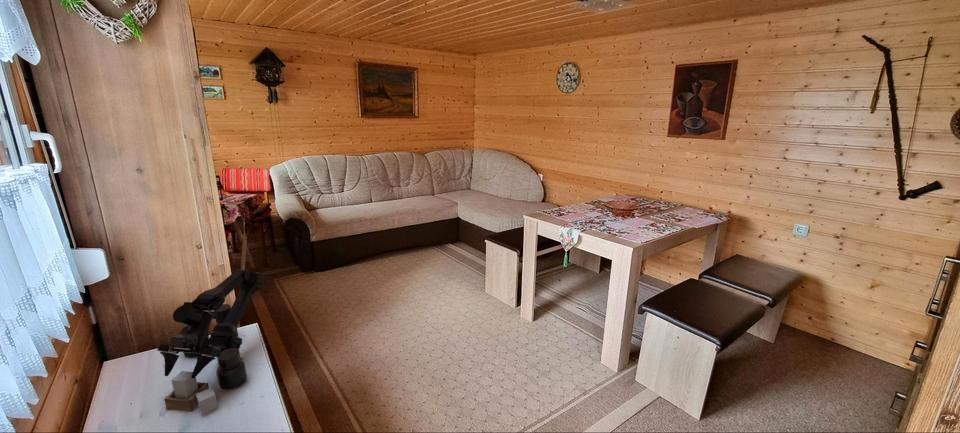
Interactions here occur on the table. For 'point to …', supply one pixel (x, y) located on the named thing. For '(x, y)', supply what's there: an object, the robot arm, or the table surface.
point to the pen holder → (205, 343)
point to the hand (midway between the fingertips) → (179, 377)
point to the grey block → (206, 401)
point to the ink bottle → (230, 369)
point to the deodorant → (222, 313)
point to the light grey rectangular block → (184, 385)
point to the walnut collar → (184, 404)
